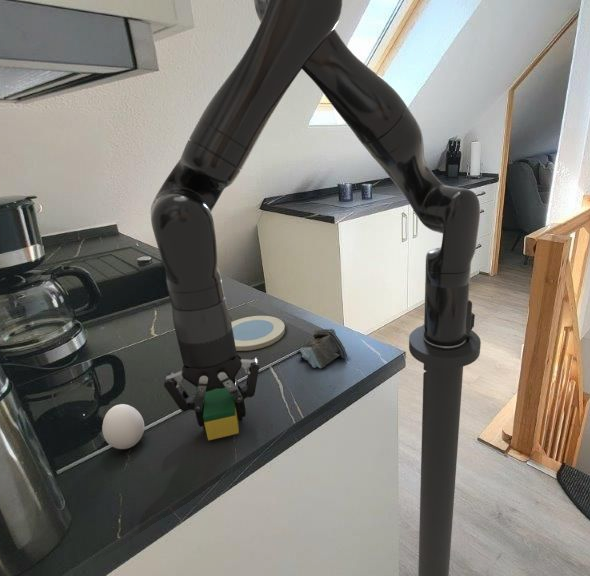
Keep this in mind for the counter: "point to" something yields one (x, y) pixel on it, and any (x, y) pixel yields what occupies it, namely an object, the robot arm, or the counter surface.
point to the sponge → (220, 414)
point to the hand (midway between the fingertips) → (223, 421)
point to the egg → (122, 426)
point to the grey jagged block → (323, 348)
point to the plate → (256, 332)
